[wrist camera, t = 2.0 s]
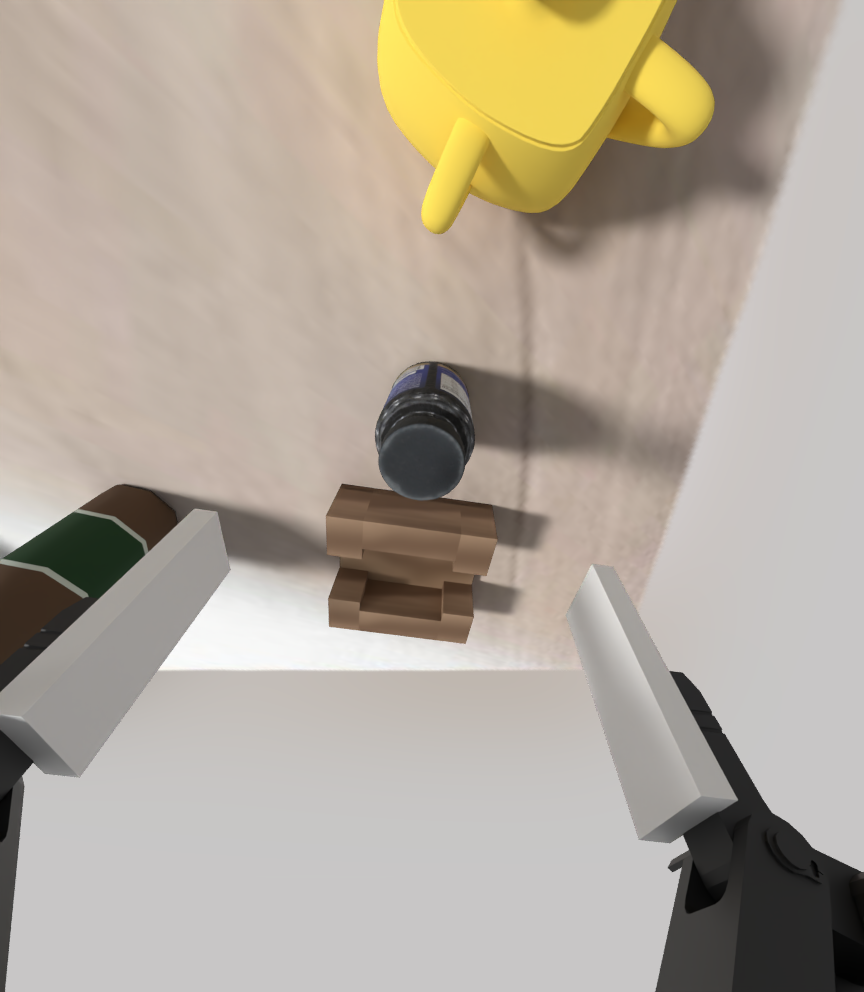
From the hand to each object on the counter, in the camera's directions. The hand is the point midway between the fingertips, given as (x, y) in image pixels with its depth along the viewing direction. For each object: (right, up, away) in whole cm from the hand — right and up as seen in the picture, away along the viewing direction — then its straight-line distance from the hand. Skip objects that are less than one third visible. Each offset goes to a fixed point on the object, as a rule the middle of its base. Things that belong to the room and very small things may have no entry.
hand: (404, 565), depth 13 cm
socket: (-1, -3, +24) cm, 24 cm away
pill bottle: (+1, +10, +16) cm, 19 cm away
